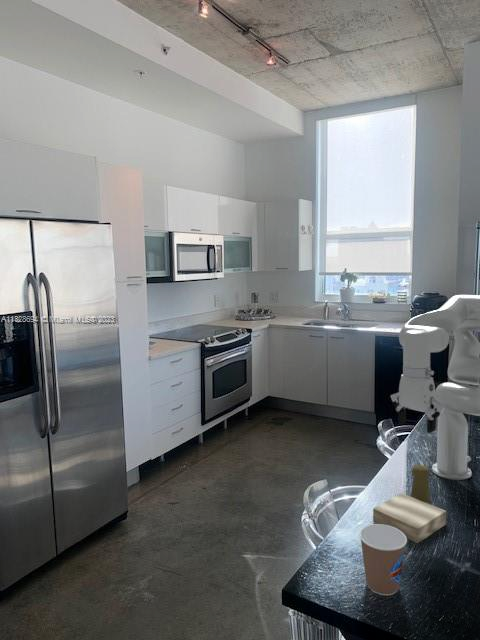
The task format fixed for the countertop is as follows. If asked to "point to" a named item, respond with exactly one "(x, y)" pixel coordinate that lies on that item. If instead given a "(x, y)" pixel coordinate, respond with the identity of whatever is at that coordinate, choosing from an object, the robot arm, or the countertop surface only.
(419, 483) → the olive tall waisted piece
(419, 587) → the countertop surface
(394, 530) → the coffee cup
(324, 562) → the countertop surface
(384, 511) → the birch plinth
